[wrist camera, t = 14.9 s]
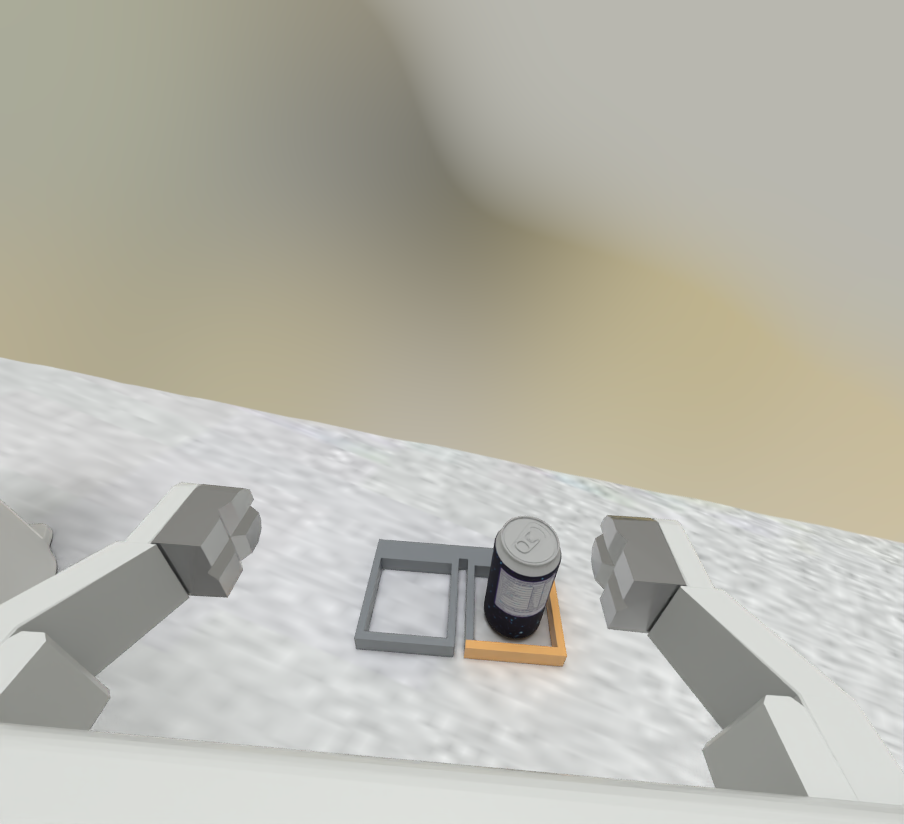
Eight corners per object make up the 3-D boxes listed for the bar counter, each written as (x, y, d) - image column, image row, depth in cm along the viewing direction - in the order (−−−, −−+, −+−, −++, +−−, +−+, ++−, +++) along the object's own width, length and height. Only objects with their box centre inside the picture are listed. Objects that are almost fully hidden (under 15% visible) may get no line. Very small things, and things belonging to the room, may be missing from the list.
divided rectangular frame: (356, 648, 36) (354, 638, 35) (380, 550, 45) (379, 539, 44) (562, 666, 36) (567, 656, 35) (546, 563, 45) (549, 552, 43)
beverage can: (550, 615, 40) (577, 540, 33) (515, 656, 37) (537, 583, 30) (507, 577, 43) (523, 502, 36) (471, 611, 40) (482, 536, 33)
